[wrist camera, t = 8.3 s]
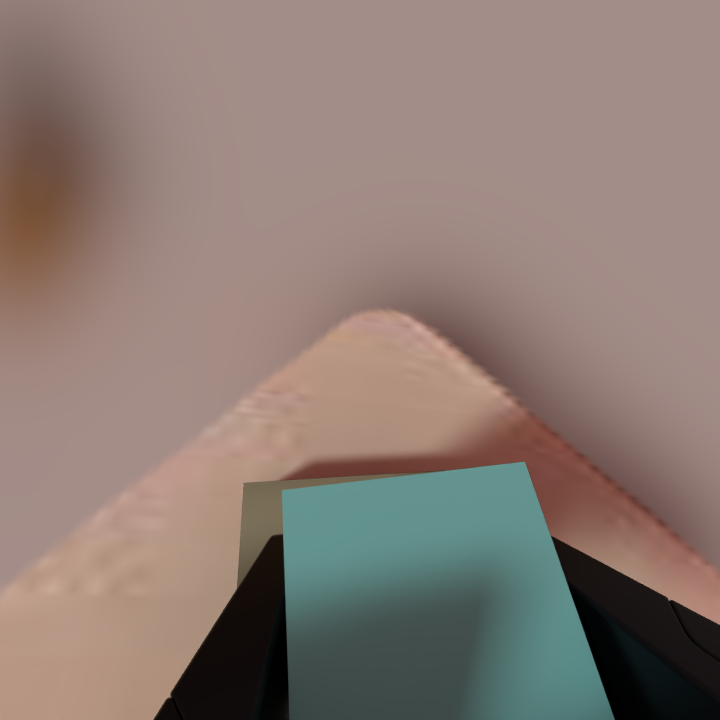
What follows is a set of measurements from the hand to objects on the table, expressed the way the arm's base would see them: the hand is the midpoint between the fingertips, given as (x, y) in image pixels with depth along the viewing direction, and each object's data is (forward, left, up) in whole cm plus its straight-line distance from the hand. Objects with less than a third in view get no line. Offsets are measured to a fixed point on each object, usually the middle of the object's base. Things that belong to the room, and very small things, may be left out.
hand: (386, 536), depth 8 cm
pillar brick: (-1, +1, -7) cm, 7 cm away
